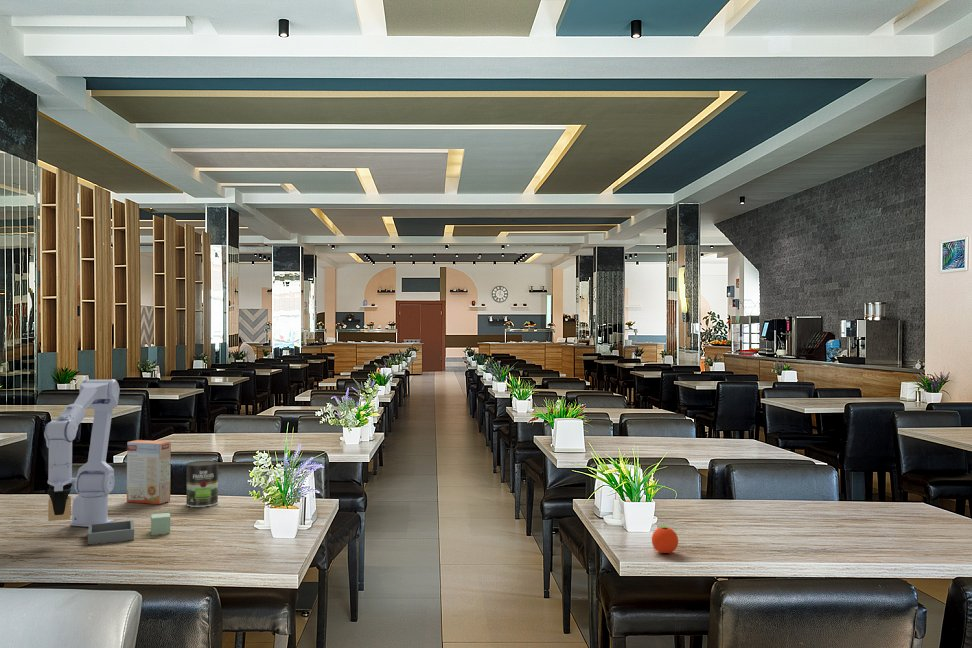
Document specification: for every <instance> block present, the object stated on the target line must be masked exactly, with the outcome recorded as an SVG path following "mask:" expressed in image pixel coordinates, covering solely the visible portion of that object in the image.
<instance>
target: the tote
mask: <svg viewBox="0 0 972 648" xmlns="http://www.w3.org/2000/svg"><path fill="white" fill-rule="evenodd" d="M128 540H129V541H134V540H135V525H134V519H129V520H121V521H114V522H108V523H98V524H89V527H88V530H87V545H88V544H92V545H99V544H98V543H101V544H108V543H107V542H110V543H119V542H128Z"/></svg>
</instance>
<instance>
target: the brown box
mask: <svg viewBox="0 0 972 648" xmlns="http://www.w3.org/2000/svg"><path fill="white" fill-rule="evenodd" d="M47 505H48V507H47V510H48V511H47V513H48V515H47V517H48V519H47V521H48V522H53V521H55V522H56V521H65V520H66V521H67V520H71V518H72V496H71V495H68V497H67V500H66V506H65V511H64V514H63V515H55V514H54V510H53V505H52V501H51V498H50V497H49V499H48V503H47Z"/></svg>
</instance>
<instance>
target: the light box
mask: <svg viewBox="0 0 972 648" xmlns="http://www.w3.org/2000/svg"><path fill="white" fill-rule="evenodd" d="M167 533H170V534H171V513H170V512H166V513H163V512H162V513H154V514H150V534H151V536H158V535H159V534H161V535H167ZM159 536H160V535H159Z"/></svg>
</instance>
